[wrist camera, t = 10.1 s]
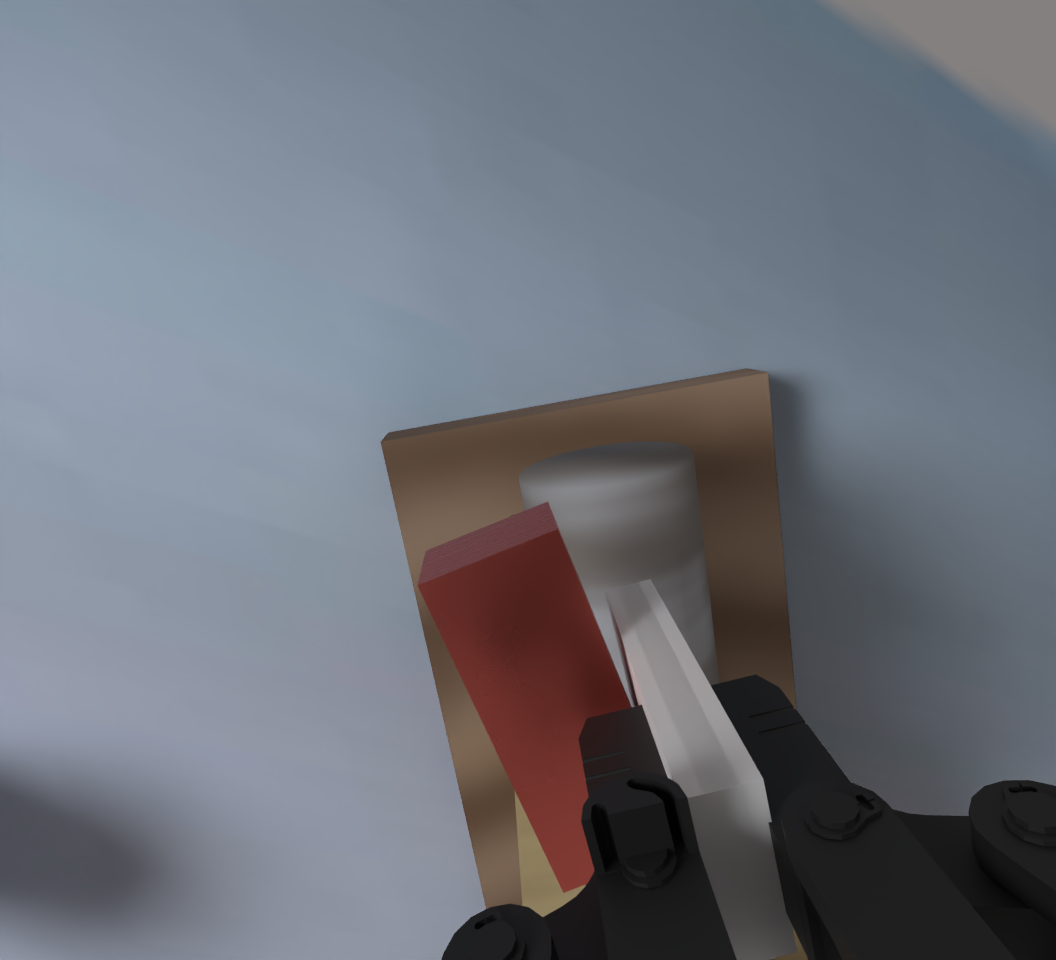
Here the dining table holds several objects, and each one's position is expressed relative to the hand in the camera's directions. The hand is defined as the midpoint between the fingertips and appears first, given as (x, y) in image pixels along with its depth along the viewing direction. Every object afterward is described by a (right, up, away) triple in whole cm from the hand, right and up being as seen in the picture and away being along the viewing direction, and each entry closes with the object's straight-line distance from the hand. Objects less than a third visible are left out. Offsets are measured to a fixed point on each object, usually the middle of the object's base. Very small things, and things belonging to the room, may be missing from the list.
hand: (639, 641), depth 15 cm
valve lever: (0, -5, +2) cm, 5 cm away
